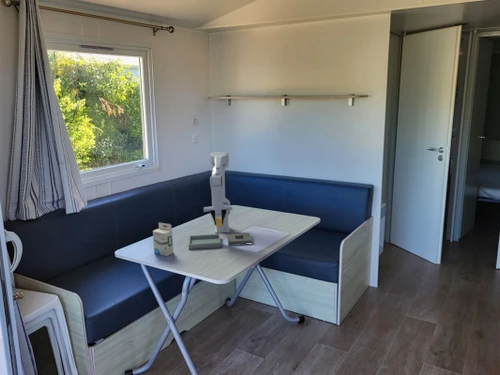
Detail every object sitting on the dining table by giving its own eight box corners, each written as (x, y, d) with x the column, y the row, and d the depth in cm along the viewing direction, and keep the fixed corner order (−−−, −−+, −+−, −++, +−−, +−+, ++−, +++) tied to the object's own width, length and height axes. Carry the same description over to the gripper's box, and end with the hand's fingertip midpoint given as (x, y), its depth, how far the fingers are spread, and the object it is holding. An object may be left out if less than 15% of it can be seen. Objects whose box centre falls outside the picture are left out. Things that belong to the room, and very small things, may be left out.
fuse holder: (227, 237, 235) (227, 234, 235) (249, 236, 237) (249, 232, 236) (228, 245, 224) (228, 241, 223) (252, 244, 225) (251, 240, 224)
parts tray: (189, 240, 233) (189, 235, 233) (219, 238, 235) (219, 233, 234) (188, 249, 220) (188, 244, 219) (220, 247, 221) (220, 242, 221)
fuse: (216, 230, 229) (215, 217, 227) (221, 230, 229) (221, 217, 228) (216, 232, 225) (215, 219, 223) (222, 232, 225) (221, 219, 224)
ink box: (153, 253, 216) (151, 225, 213) (160, 250, 220) (158, 222, 217) (167, 256, 212) (165, 227, 208) (174, 253, 216) (172, 224, 213)
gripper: (203, 201, 219) (204, 227, 222) (232, 199, 220) (233, 225, 223) (203, 198, 226) (204, 223, 229) (231, 196, 227) (232, 221, 230)
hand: (218, 224), depth 226 cm, fingers closed on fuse, 3 cm apart
